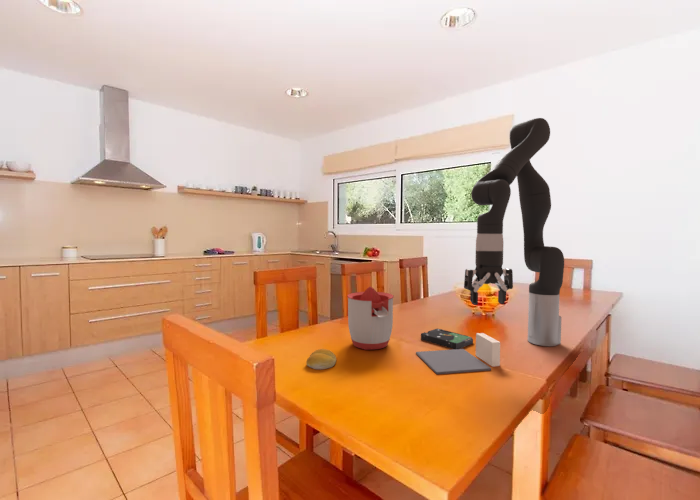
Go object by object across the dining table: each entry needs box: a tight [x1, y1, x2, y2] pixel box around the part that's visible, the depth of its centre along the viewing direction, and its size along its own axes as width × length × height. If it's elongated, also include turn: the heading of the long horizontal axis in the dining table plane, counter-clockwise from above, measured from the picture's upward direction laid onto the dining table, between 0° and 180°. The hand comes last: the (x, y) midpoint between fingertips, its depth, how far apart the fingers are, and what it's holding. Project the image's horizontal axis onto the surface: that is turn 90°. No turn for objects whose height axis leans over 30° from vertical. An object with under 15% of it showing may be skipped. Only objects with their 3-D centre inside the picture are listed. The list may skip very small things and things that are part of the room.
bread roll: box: [306, 348, 337, 370], centre depth 102 cm, size 8×9×4 cm
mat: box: [415, 348, 492, 375], centre depth 103 cm, size 16×16×1 cm
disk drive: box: [420, 328, 474, 350], centre depth 122 cm, size 10×3×15 cm
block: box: [475, 332, 501, 367], centre depth 104 cm, size 2×9×7 cm, turn 10°
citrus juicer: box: [347, 286, 395, 351], centre depth 117 cm, size 16×17×20 cm
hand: (488, 303), depth 103 cm, fingers open, 8 cm apart
